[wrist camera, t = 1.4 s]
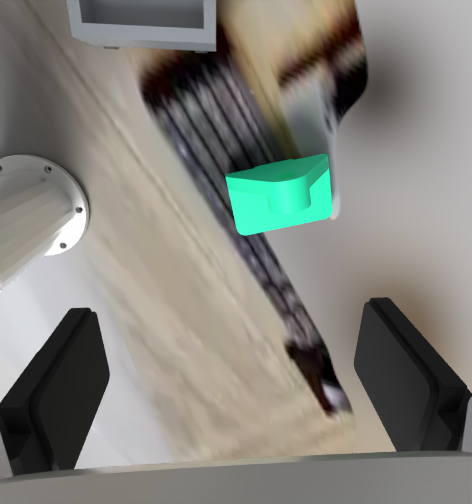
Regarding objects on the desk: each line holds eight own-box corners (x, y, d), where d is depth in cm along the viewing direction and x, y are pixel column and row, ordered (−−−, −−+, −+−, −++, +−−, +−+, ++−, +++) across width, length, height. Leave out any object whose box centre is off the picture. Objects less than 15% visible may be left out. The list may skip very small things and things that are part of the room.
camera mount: (237, 229, 43) (242, 264, 34) (225, 172, 40) (227, 193, 31) (326, 211, 43) (357, 240, 33) (321, 152, 40) (353, 166, 30)
